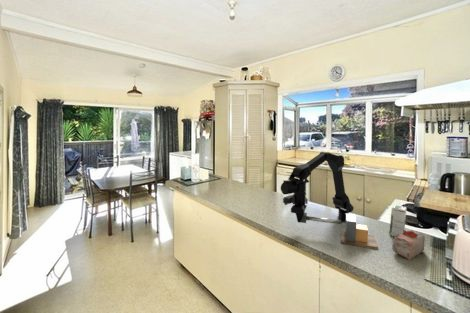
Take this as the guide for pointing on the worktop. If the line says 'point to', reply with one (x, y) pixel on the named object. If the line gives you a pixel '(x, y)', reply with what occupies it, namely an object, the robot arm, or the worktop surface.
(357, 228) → the block
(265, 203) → the worktop surface
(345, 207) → the robot arm
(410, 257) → the food item
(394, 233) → the syrup box
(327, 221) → the shaft
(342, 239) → the stand
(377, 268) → the worktop surface
